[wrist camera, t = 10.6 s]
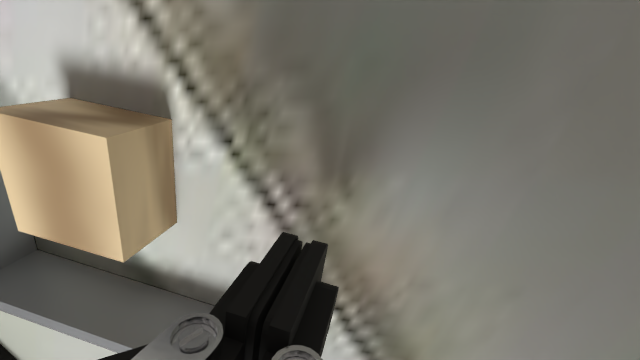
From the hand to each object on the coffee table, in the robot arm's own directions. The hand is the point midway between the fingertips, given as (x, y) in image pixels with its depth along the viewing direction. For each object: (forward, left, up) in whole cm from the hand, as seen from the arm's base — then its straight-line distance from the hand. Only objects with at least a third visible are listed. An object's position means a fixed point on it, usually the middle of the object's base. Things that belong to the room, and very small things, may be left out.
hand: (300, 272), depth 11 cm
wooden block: (+11, 0, -5) cm, 12 cm away
